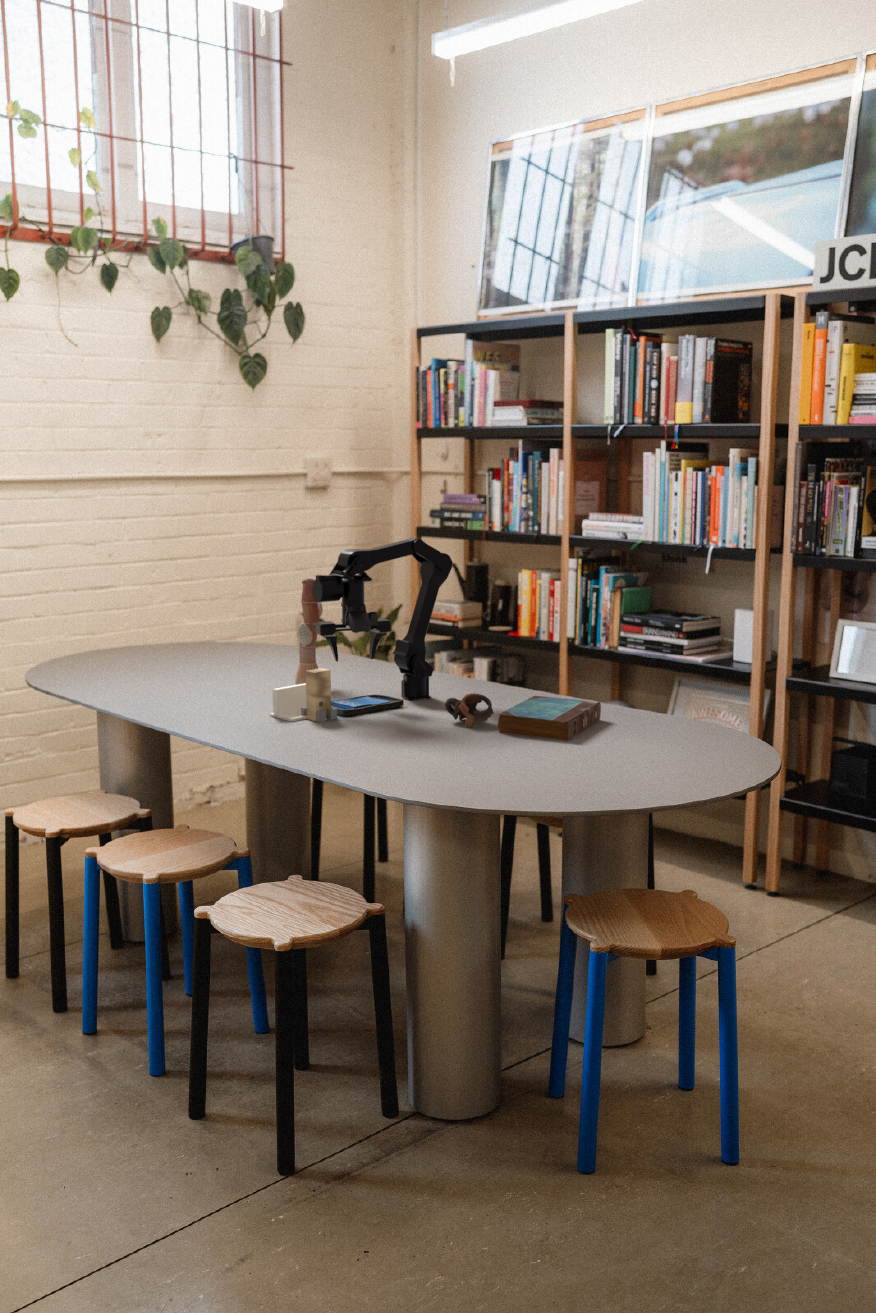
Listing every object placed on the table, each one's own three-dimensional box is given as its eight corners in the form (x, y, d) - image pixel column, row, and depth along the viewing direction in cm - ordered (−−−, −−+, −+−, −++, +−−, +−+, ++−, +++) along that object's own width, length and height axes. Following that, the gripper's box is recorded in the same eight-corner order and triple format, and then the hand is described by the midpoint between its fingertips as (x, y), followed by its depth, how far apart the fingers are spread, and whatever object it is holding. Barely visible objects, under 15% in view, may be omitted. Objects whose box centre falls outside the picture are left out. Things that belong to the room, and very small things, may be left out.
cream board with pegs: (313, 706, 303) (312, 680, 302) (350, 715, 293) (349, 688, 291) (269, 715, 293) (268, 688, 292) (305, 725, 283) (305, 696, 282)
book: (568, 743, 267) (568, 721, 266) (496, 735, 274) (496, 714, 274) (600, 721, 287) (601, 701, 286) (533, 715, 294) (533, 695, 294)
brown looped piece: (493, 720, 289) (499, 695, 284) (484, 745, 282) (490, 720, 277) (446, 706, 290) (451, 681, 285) (436, 731, 283) (441, 706, 278)
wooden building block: (322, 715, 293) (321, 668, 291) (332, 717, 291) (331, 670, 288) (306, 718, 290) (305, 670, 288) (316, 721, 287) (315, 672, 285)
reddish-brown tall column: (305, 689, 325) (302, 581, 319) (288, 685, 330) (285, 579, 324) (333, 683, 332) (331, 577, 327) (316, 680, 337) (314, 575, 332)
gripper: (325, 605, 288) (326, 668, 291) (398, 601, 294) (398, 663, 297) (314, 599, 298) (315, 660, 301) (384, 596, 305) (385, 655, 307)
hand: (354, 660), depth 301 cm, fingers open, 9 cm apart
